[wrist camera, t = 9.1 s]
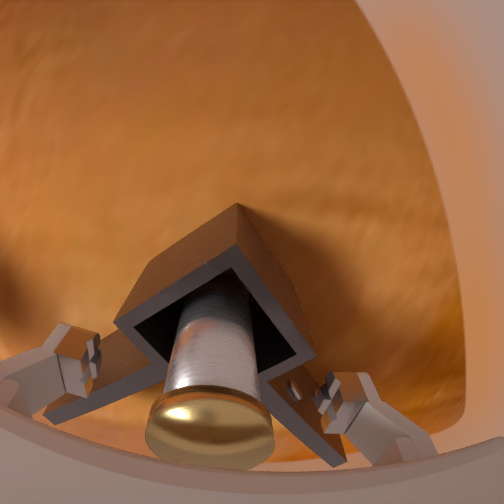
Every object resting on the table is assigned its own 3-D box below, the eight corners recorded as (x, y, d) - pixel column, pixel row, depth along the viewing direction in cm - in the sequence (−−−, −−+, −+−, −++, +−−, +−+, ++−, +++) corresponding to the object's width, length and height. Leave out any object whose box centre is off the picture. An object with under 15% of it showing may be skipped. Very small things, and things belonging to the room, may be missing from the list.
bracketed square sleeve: (53, 332, 18) (14, 387, 13) (236, 202, 16) (236, 243, 10) (190, 451, 24) (185, 507, 18) (356, 383, 21) (381, 445, 15)
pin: (192, 240, 16) (143, 396, 6) (257, 252, 17) (291, 415, 7) (184, 297, 18) (146, 464, 8) (244, 307, 18) (258, 478, 8)
